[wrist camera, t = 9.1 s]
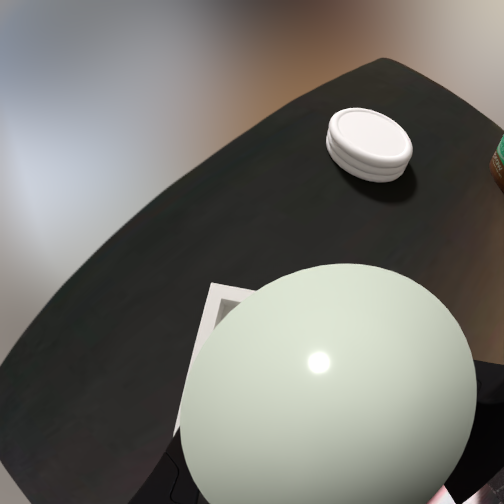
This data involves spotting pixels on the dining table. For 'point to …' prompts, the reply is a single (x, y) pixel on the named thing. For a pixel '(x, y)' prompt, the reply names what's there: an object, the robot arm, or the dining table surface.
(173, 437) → the robot arm
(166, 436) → the dining table surface
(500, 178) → the food container
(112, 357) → the dining table surface
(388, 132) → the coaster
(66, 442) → the dining table surface
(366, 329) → the pale green rounded post
